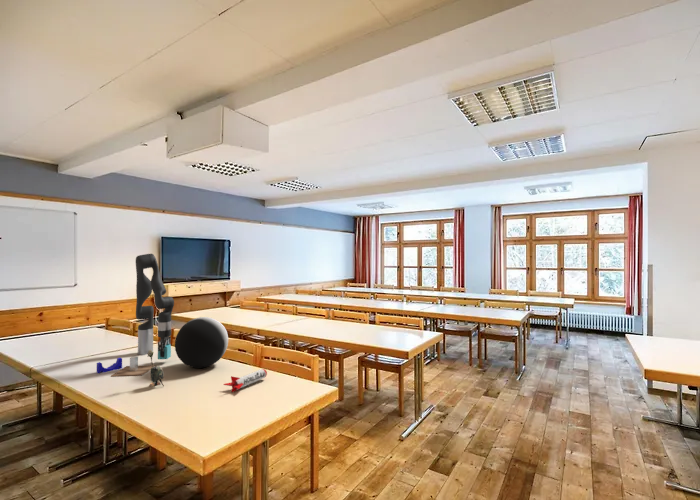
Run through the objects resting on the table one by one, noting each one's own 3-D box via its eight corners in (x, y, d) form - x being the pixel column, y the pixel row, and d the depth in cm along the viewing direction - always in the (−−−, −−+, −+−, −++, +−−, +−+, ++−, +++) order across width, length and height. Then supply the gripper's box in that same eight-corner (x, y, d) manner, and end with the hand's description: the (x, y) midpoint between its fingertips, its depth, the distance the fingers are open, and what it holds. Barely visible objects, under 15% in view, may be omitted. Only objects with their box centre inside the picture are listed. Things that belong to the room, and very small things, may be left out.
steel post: (132, 369, 201) (132, 356, 201) (137, 369, 202) (138, 356, 202) (129, 371, 198) (129, 358, 198) (135, 370, 199) (135, 357, 199)
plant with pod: (152, 393, 170) (152, 353, 170) (143, 387, 177) (143, 349, 177) (169, 388, 176) (169, 349, 176) (159, 383, 184) (160, 345, 184)
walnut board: (126, 368, 207) (126, 366, 207) (154, 367, 209) (154, 365, 209) (111, 377, 191) (111, 375, 191) (141, 376, 193) (141, 374, 193)
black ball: (236, 359, 224) (236, 313, 224) (213, 376, 194) (213, 323, 194) (192, 358, 227) (192, 312, 227) (163, 374, 197) (163, 321, 197)
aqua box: (161, 356, 220) (161, 344, 220) (170, 356, 220) (170, 344, 220) (157, 359, 214) (157, 347, 214) (167, 359, 215) (167, 346, 215)
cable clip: (118, 367, 209) (118, 357, 209) (122, 368, 207) (122, 358, 207) (95, 372, 199) (95, 362, 199) (98, 374, 197) (98, 363, 197)
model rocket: (272, 383, 185) (273, 364, 185) (238, 399, 165) (238, 378, 165) (258, 379, 190) (258, 361, 190) (223, 394, 170) (223, 374, 170)
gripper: (163, 326, 224) (163, 352, 224) (153, 331, 210) (152, 359, 210) (175, 326, 225) (175, 351, 225) (166, 331, 211) (165, 359, 211)
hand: (164, 355), depth 217 cm, fingers closed on aqua box, 5 cm apart
